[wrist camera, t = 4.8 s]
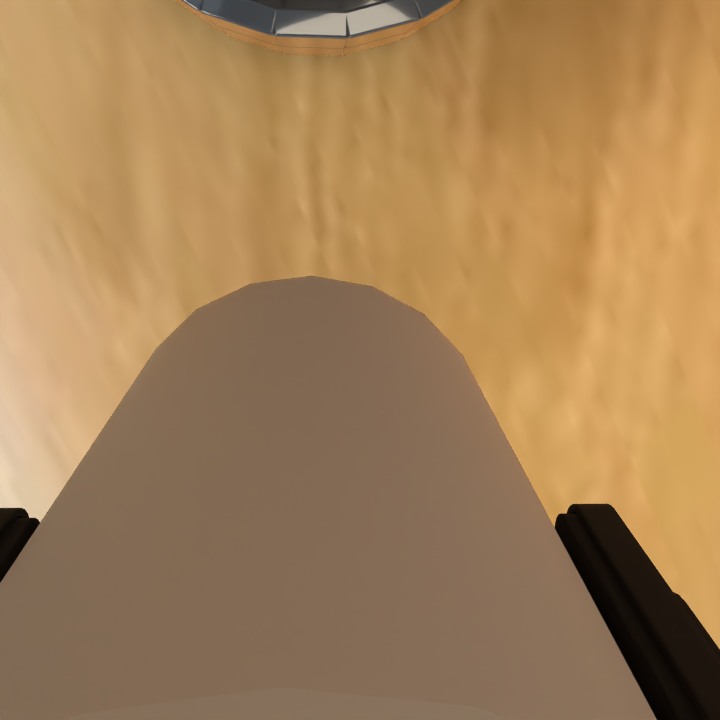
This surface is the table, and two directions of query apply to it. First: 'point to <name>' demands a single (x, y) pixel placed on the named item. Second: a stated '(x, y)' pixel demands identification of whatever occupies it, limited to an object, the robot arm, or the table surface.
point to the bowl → (319, 22)
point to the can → (304, 539)
